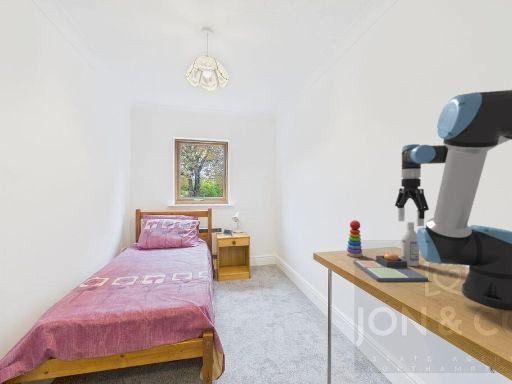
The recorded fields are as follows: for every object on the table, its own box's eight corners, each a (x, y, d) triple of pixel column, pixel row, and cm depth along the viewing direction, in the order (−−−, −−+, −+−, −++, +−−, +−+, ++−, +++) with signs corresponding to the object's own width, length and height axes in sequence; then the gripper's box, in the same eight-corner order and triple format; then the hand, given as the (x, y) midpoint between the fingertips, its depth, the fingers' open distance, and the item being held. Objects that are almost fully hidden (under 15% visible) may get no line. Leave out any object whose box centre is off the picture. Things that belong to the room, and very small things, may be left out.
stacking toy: (343, 255, 127) (344, 220, 127) (349, 252, 133) (350, 218, 133) (359, 258, 122) (359, 221, 122) (364, 255, 128) (364, 220, 127)
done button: (400, 262, 106) (401, 256, 106) (388, 262, 106) (388, 256, 106) (393, 258, 112) (393, 253, 112) (381, 258, 112) (381, 253, 112)
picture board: (428, 280, 93) (428, 271, 93) (376, 281, 93) (377, 271, 92) (394, 262, 115) (394, 255, 115) (353, 263, 115) (353, 255, 114)
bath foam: (421, 264, 112) (421, 222, 112) (415, 267, 108) (416, 223, 108) (404, 261, 118) (405, 220, 117) (398, 263, 113) (399, 221, 113)
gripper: (439, 177, 100) (438, 228, 100) (402, 178, 125) (401, 219, 125) (421, 177, 100) (420, 228, 100) (387, 178, 124) (387, 219, 125)
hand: (410, 223), depth 113 cm, fingers open, 13 cm apart
